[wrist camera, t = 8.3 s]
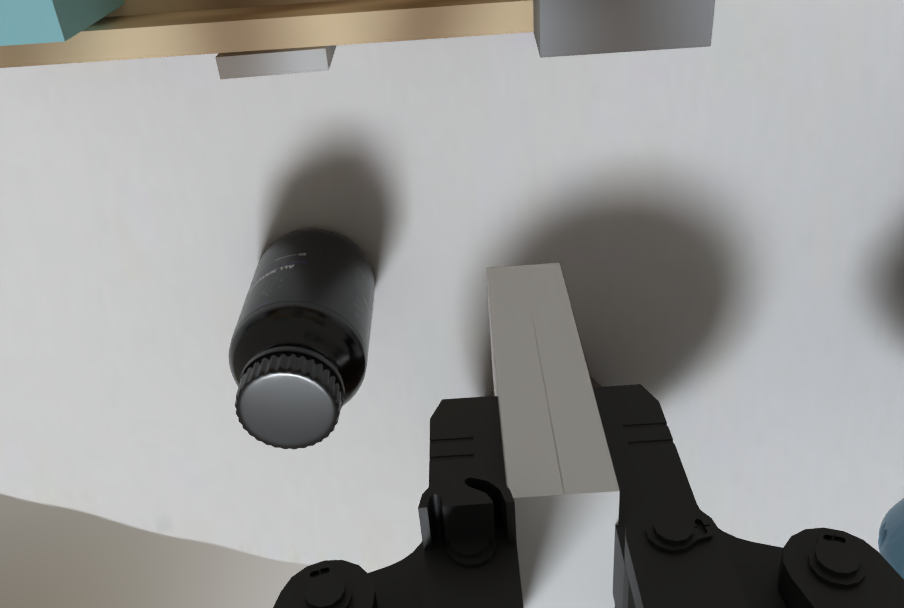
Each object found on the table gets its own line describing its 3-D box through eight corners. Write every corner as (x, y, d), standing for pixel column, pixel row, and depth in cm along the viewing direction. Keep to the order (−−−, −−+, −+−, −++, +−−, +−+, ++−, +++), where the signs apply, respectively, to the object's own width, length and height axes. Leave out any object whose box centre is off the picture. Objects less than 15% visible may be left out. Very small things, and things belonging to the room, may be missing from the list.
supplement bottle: (275, 208, 45) (234, 329, 35) (391, 248, 47) (385, 376, 36) (242, 306, 48) (196, 444, 38) (352, 341, 50) (336, 481, 40)
